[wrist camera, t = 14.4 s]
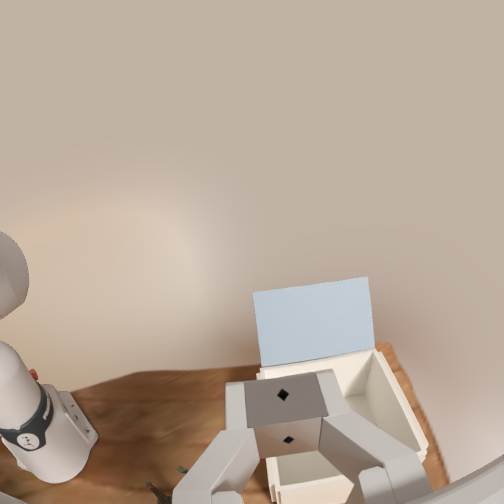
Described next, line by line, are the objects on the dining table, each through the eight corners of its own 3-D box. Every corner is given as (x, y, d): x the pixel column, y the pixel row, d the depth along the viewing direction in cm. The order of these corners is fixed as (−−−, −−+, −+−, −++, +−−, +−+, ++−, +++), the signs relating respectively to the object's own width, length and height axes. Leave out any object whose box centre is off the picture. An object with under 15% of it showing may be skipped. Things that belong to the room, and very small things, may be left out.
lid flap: (367, 276, 45) (366, 276, 46) (252, 292, 45) (252, 292, 46) (374, 347, 44) (373, 346, 45) (261, 366, 44) (261, 365, 44)
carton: (407, 487, 31) (433, 454, 26) (274, 519, 30) (270, 496, 26) (369, 391, 49) (378, 347, 45) (261, 410, 49) (255, 368, 44)
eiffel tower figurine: (184, 567, 23) (147, 552, 18) (126, 532, 28) (79, 502, 22) (236, 492, 35) (219, 454, 30) (178, 466, 40) (150, 422, 34)
